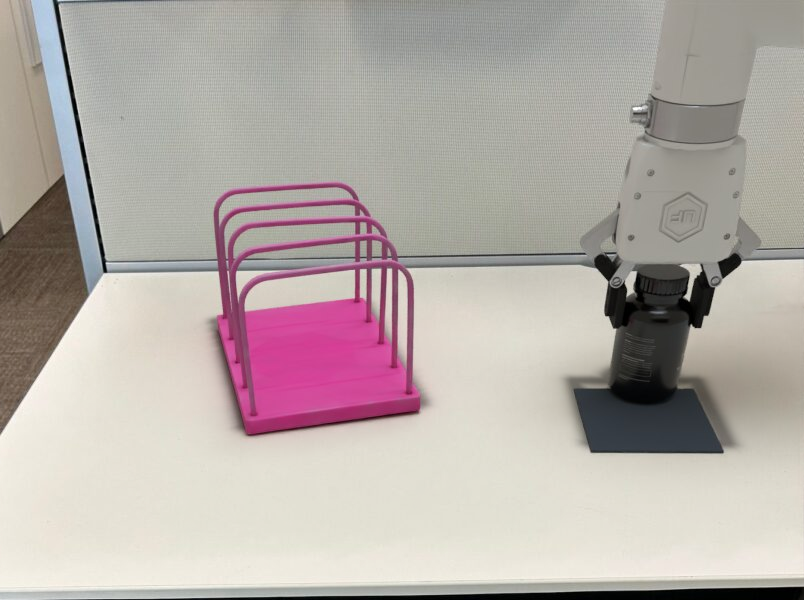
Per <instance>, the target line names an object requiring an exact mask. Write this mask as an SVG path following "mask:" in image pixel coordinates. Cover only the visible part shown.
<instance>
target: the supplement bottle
mask: <svg viewBox="0 0 804 600" xmlns="http://www.w3.org/2000/svg"><path fill="white" fill-rule="evenodd" d="M690 277H691V272H690V270H689V269H688V268H685V267H684V266H681V265H679V264H641V266H639V267H638V268H637V269H636V274H635V280H634V282H633V286H632V290H633V292H632V293H630V294H629V295H627V297H626V303H625V308H624V314H623V320H622V326H621V327H619V329H615V335H614V339H613V347H612V353H611V358H610V365H609V372H608V380H607V385H608V388H610V389H611V390H612V392H613V393H615V394H616V395H617V396H619V397H621V398H623V399H626V400H630V401H634V402H641V403H654V402H660V401H663V400H666V399H668V398H670V397H671V396H672V395H673V394H674V393H675V392H676V390H677V388H678V387H679V386H678V385H679V381H680V378H681V377H680V376H681V373H682V369H683V363H684V359H685V354H686V349H687V345H688V340H689V336H690V331H691V327H692V324H691V322H692V317H693V308H692V305H691V303H690V302H689V301H690V300H688V298H686V297H685V296H687V294H688V291H689V282H690V279H691V278H690Z"/></svg>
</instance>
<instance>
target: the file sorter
mask: <svg viewBox="0 0 804 600" xmlns="http://www.w3.org/2000/svg"><path fill="white" fill-rule="evenodd" d="M330 188H331V189H332V188H338V189H342V190H343V191H346V192H348V194H349V195H350V196H351V197H352V198H349V197H345V198H329V199H328V198H327V199H311V200H298V201H297V200H296V201H286V202H285V201H284V202H271V203H260V204H248V205H240V206H237V207H234V208H232V209H231V210H229V211H228V212H227V213H226V214H225V215H224V216H223V218H222V220H221V222H220V209H221V207H222V204H223V203H224V202H225V201H226V200H227V199H228V198H230V197H231V196H235V195H243V194H255V193H267V192H269V193H270V192H282V191H295V190H296V191H297V190H314V189H315V190H316V189H330ZM343 205H344V206H353V207H354V215H341V216H339V215H338V216H318V217H315V216H313V217H299V218H295V217H294V218H282V219H278V218H277V219H264V220H263V219H262V220H254V221H253V220H252V221H248V222H245V223H243V224H241V225H240V226H238V227H237V228H236V229H235V230H234V231H233V232H232V233H231V235H230V238H229V240H228V243H227V255H226V242H225V239H226V238H225V230H226V226H227V224H228V222H229V221H230V220H231V219H232V218H233V217H234V216H236V215H239V214H241V213H249V212H260V211H271V210H286V209H295V208H296V209H297V208H308V207H309V208H310V207H328V206H343ZM361 213H362V214H363V215H361ZM345 223H346V224H348V223H349V224H350V223H354V234H349V235H339V236H330V237H320V238H312V239H305V240H296V241H285V242H278V243H269V244H262V245H261V244H260V245H254V246H251V247H248V248H246V249H244V250H242V251H241V252H240V253H239V254H238V255H237V256H236V257H235V258H234V248H235V244H236V242H237V239H238V238H240V236H241V235H242V234H244V232H246V231H248V230H251V229H260V228H273V227H288V226H305V225H308V226H309V225H324V224H325V225H329V224H345ZM361 223H365V225H366V233H361ZM213 226H214V227H213V228H214V240H215V249H216V250H215V251H216V260H217V270H218V279H219V288H220V299H221V308H222V314H217V315H216V322H217V329H218V333H219V336H220V340H221V344H222V347H223V351H224V355H225V358H226V362H227V366H228V369H229V373H230V377H231V381H232V384H233V388H234V389H233V390H234V392H235V396H236V399H237V400H236V401H237V403H238V407H239V410H240V415H241V418H242V422H243V426H244V429H245V433H246V434H247V435H254V434H261V433H267V432H274V431H280V430H288V429H289V430H290V429H295V428H296V429H297V428H301V427H302V428H303V427H309V426H316V425H323V424H328V423H336V422H337V423H338V422H345V421H351V420H359V419H366V418H373V417H380V416H387V415H395V414H401V413H407V412H408V413H409V412H415V411H420V410H421V394H420V392H419V391H418V388H417V387H416V385H415V384H414V382H413V381H414V380H413V379H414V378H413V377H414V376H413V375H414V334H415V333H414V332H415V331H414V330H415V285H414V279H413V277H412V274H411V273H410V271H409V269H407V268H406V266H405V265H404V264H402V263H401V262H399V257H398V252H397V249H396V247H395V246H394V245H393V243H392V242H391V240H389V239H388V235H387V231H386V230H385V228H384V227H383V225H382V224H381V223H380V222H379V221H378V220H377V219H375V218H373V217H372V216H371V213H370V211H369V210H368V209H367V207H366V206H365V205H364V204H363V203H362V202H361V201H360V198H359V196H358V194H357V193H356V191H355V189H353V188H352V187H351V186H350V185H349V184H347V183H345V182H342V181H320V182H319V181H318V182H317V181H316V182H300V183H299V182H298V183H284V184H271V185H270V184H268V185H258V186H256V185H255V186H243V187H234V188H231V189H228V190H226V191H224V192H223V193H222V194H221V195H220V196H219V197H218V198H217V200H216V202H215V204H214V207H213ZM373 227H375V228H376V229H377V231H378V232H379V233H380V234H378V233H373ZM365 241H366V261H361V242H365ZM373 241H375V242H376V241H377V242H380V243H381V259H376V260H373ZM346 243H347V244H348V243H354V262H347V263H338V264H330V265H329V264H328V265H320V266H312V267H303V268H297V269H288V270H280V271H272V272H266V273H262V274H259V275H256V276H254V277H252V278H251V279H250V280H248V281H247V282H246V284H245V285H244V286H243V287H242V289H241V290H240V292H239V293H240V294H239V295H238V289H237V271H238V270H239V269H238V268H239V267H240V264H241V263H242V262H243V261H244V260H245V259H247V258H248V257H250V256H252V255H256V254H262V253H263V254H264V253H270V252H271V253H272V252H279V251H285V250H286V251H287V250H294V249H304V248H311V247H319V246H320V247H321V246H330V245H339V244H340V245H341V244H346ZM388 251H389V252H390V256H391V259H388V257H389V255H388V254H389V253H388ZM227 265H228V266H227ZM389 267H390V268H391V343H390V341H389V339H388V338H387V335H386V334H385V332H386V331H385V327H386V306H387V283H388V281H387V280H388V268H389ZM375 268H380V269H381V270H380V295H379V315H378V316H379V319H378V320H377V318H376V317H375V315H374V314H373V312H372V304H373V303H372V301H373V300H372V299H373V298H372V297H373V294H372V293H373V292H372V291H373V269H375ZM363 269H364V270H365V269H366V283H365V284H366V285H365V286H366V295H365V297H366V298H365V299H364V297H361V270H363ZM347 271H354V297H352V298H343V299H336V300H327V301H319V302H311V303H303V304H294V305H285V306H279V307H278V306H277V307H270V308H262V309H261V308H260V309H254V310H246V308H245V307H246V306H245V305H246V298H247V296H248V294H249V292H250V291H251V290H253V288H255V286H258V285H259V284H260V283H264V282H269V281H275V280H283V279H289V278H298V277H305V276H314V275H323V274H330V273H338V272H347ZM399 271H400V272H401V273H402V274H403V276H404V277H405V281H406V287H407V288H406V289H407V291H406V293H407V296H406V297H407V308H406V310H407V311H406V312H407V315H406V316H407V317H406V321H407V324H406V368H405V366H404V364H403V362H402V361H401V359H400V357H399V356H398V352H399V351H398V350H399V349H398V348H399V346H398V345H399V342H398V341H399ZM238 296H239V297H238Z"/></svg>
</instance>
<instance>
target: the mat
mask: <svg viewBox="0 0 804 600" xmlns="http://www.w3.org/2000/svg"><path fill="white" fill-rule="evenodd" d="M573 393H574V397H575V400H576V404H577V407H578V410H579V414H580V418H581V421H582V425H583V428H584V432H585V435H586V440H587V443H588V446H589V450H590V453H654V454H655V453H656V454H657V453H660V454H661V453H663V454H665V453H667V454H668V453H669V454H670V453H671V454H673V453H674V454H677V453H678V454H679V453H680V454H681V453H682V454H685V453H686V454H724V453H725V450H724V449H723V447H722V444H721V442H720V440H719V438H718V436H717V434H716V432H715V430H714V428H713V425H712V423H711V422H710V420H709V416H708V415H707V413H706V411H705V409H704V407H703V405H702V403H701V400H700V398H699V397H698V395H697V393H696V391H695V388H684V387H683V388H678V387H677V390H676V392H675V393H674V394H673V395H672V396H671V397H670V398H668V399H666V400H663V401H660V402H654V403H641V402H634V401H630V400H626V399H623V398H621V397H619V396H617V395H616V394H615V393H613V392H612V390H611V389H610V387H607V388H606V387H603V388H602V387H601V388H600V387H599V388H597V387H595V388H594V387H593V388H592V387H589V388H588V387H587V388H586V387H583V388H582V387H577V388H575V387H574V388H573Z"/></svg>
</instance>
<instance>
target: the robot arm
mask: <svg viewBox="0 0 804 600" xmlns="http://www.w3.org/2000/svg"><path fill="white" fill-rule="evenodd" d="M659 35H660V36H659V39H658V46H657V51H656V59H655V63H654V64H655V65H654V71H653V77H652V83H651V89H650V93H648V94H647V99H646V100H645V103H640V104H639V105H631V107H630V109H629V124H638V126H642V127H643V130H644V131H642V132H641V131H640V132H639V133H637V134H636V136H635V139H634V141H633V144H632V147H631V151H630V153H629V155H628V159H627V162H626V166H625V170H624V173H623V177H622V181H621V184H620V188H619V193H618V197H617V201H616V206H615V209H614V211H612V212H611V213H609V215H607V216H606V217H605V218H604V219H602V220H600V222H599V223H597V224H596V225H594V226H593V227H592V228H591V229H590V230H588V231H587V232H585V234H583V235H582V236H581V237H580V239H579V245H580V247H581V248H582V251H583V252H584V253H585V255H586V256H587V257H588V259H589V260H590V261H591V262H592V264H593V265H594V267H595V269H596V270H597V271H598V272H599V273H600V274H601V276H603V278H604V279H605V280H606V281H607V287H606V293H605V301H604V307H603V313H604V316H605V317H606V318H607V317H608V319H609V321H610V325H611V327H612V329H614V330H616V329H619V327H621V326H622V320H623V314H624V308H625V303H626V297H627V296H628V287H627V285H626V280H627V278H628V277H629V275H630V274H631V272H632V271H633V269H635V267H636V265H645V264H675V265H697V264H699V267H700V272H699V274H696V277H694V279H693V284H692V288H691V293H690V297H689V300H688V301H689V302H690V303H691V305H692V308H693V317H692V322H691V327H692V328H694V329H702V326H703V323H704V318H705V317H709V316H710V313H711V308H712V305H713V300H714V295H715V291H716V288H718V287H720V285H721V284H722V283H723V280H724V279H725V278H726V277H727V276H730V275H731V274H732V273H733V272H734V271H735V270H736V269H737V268H739V267H740V266H741V265H742V263H743V261H744V260H746V259H748V258H749V257H750V256H751V255H752V254H753V253H754V252H756V250H758V249H759V248H760V247H761V245H762V239H761V238H760V237H759V236H758V234H757V233H756V232H755V231H754V230H753V229H752V227H750V225H748V223H747V222H746V221H745V220H744V219H743V218H742V217H741V216H740V214H741V213H740V212H741V206H742V200H743V199H742V198H743V193H744V192H743V191H744V184H745V174H746V165H747V164H746V163H747V139H745V138H744V137H743V136H741V135H740V134H739V129H740V125H741V121H742V116H743V111H744V107H745V102H746V97H747V95H748V90H749V84H750V81H751V76H752V71H753V67H754V62H755V58H756V53H757V50H758V49H759V48H762V47H776V48H788V49H795V50H796V49H797V50H804V0H665V2H664V9H663V15H662V22H661V28H660V33H659ZM610 237H611V240H612V243H613V244H614V245H615V250H616V253H615V254H614V256H613V258H612V259H611V258H610V257H609V256H608V255H607V253H606V252H605V251H604V250H603V249H602V247H601V245H602V243H604V242H605V241H606V240H608V239H609V238H610ZM736 237H737V242H736V243H735V240H736Z"/></svg>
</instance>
